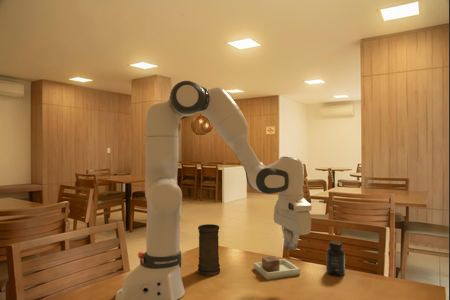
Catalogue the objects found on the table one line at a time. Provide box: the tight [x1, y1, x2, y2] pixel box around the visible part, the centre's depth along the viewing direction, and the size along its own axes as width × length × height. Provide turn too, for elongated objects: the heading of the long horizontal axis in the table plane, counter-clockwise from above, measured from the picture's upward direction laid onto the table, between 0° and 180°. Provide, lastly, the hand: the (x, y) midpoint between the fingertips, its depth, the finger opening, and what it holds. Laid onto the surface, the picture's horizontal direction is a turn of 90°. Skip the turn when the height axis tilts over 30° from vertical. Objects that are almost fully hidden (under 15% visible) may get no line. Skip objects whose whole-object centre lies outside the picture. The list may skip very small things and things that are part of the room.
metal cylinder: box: [283, 229, 298, 251], centre depth 119 cm, size 4×4×6 cm
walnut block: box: [261, 255, 280, 272], centre depth 130 cm, size 5×5×5 cm
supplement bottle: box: [325, 240, 346, 277], centre depth 130 cm, size 7×7×12 cm
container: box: [197, 223, 221, 277], centre depth 132 cm, size 9×9×18 cm
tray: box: [253, 258, 301, 281], centre depth 132 cm, size 14×12×2 cm
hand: (290, 241), depth 119 cm, fingers closed on metal cylinder, 4 cm apart
